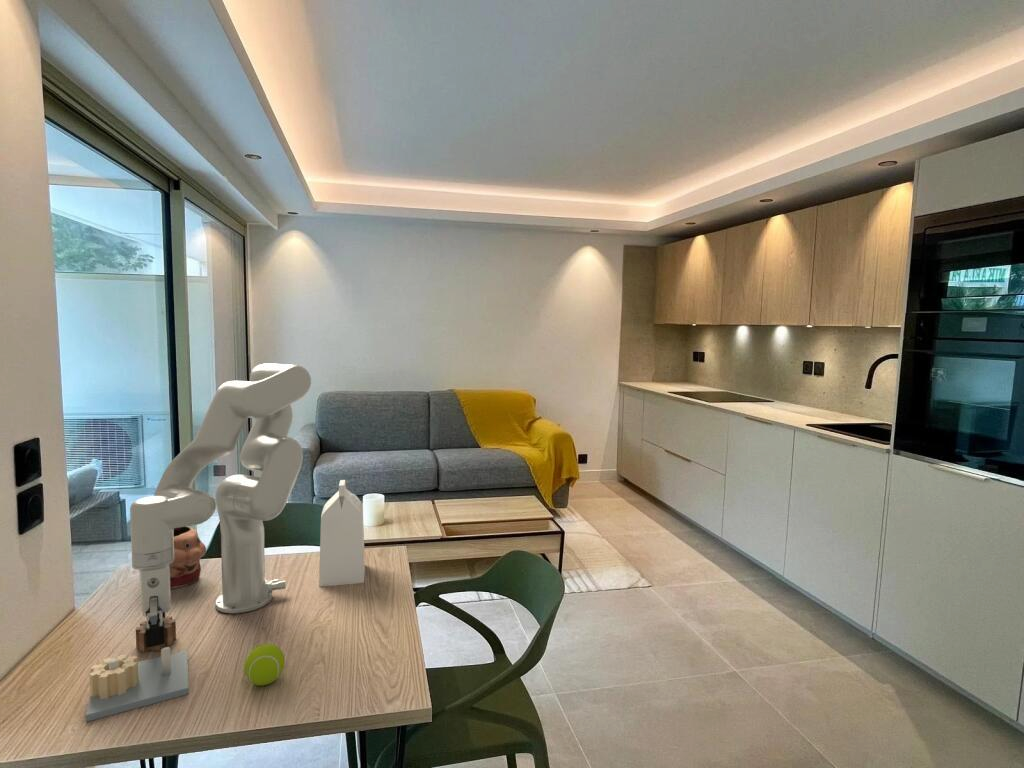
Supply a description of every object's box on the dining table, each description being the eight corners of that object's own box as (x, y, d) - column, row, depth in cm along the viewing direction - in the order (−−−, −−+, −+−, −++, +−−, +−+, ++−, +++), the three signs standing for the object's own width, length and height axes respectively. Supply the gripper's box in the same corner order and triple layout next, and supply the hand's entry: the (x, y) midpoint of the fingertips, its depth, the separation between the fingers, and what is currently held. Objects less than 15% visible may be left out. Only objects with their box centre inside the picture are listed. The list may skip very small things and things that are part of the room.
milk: (322, 568, 158) (321, 478, 156) (364, 564, 161) (364, 476, 159) (318, 586, 146) (317, 489, 144) (364, 582, 149) (363, 487, 147)
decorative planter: (123, 585, 145) (121, 533, 144) (164, 567, 157) (163, 518, 156) (183, 596, 139) (181, 542, 138) (221, 577, 151) (220, 527, 150)
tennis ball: (246, 675, 108) (245, 640, 107) (285, 668, 110) (284, 634, 110) (243, 697, 101) (242, 660, 101) (284, 689, 104) (283, 653, 103)
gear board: (187, 656, 114) (186, 627, 113) (188, 693, 102) (187, 662, 101) (96, 678, 106) (94, 647, 105) (85, 721, 94) (84, 688, 93)
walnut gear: (176, 630, 123) (175, 613, 123) (176, 645, 117) (175, 627, 117) (137, 639, 120) (136, 621, 119) (135, 655, 114) (134, 636, 113)
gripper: (174, 567, 112) (176, 649, 113) (174, 540, 126) (176, 612, 128) (128, 574, 108) (132, 659, 109) (134, 545, 122) (137, 620, 124)
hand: (156, 634), depth 118 cm, fingers open, 9 cm apart
